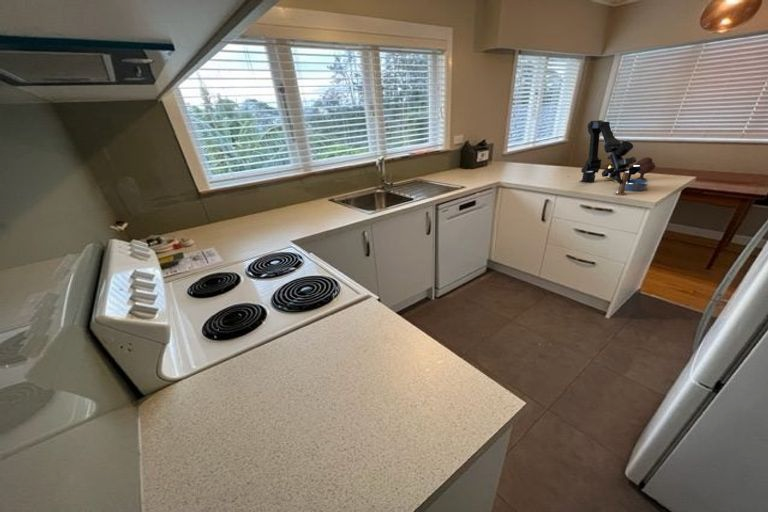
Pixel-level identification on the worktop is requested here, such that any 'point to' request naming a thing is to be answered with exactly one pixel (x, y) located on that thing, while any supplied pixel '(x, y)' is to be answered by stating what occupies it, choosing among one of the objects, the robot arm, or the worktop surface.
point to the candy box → (612, 178)
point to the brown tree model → (645, 166)
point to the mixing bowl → (636, 185)
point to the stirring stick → (623, 183)
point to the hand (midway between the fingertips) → (625, 183)
